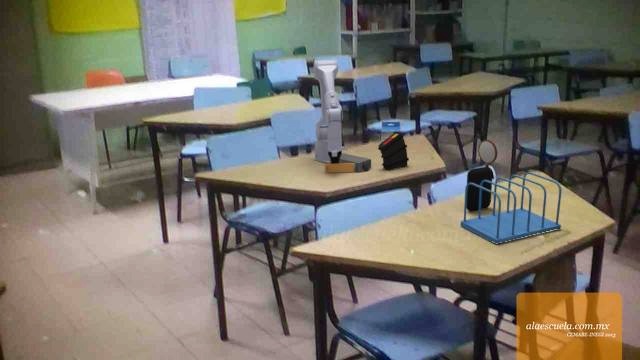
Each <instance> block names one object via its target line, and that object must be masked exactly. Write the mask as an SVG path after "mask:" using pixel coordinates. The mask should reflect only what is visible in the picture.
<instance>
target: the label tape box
mask: <svg viewBox="0 0 640 360" xmlns="http://www.w3.org/2000/svg"><path fill="white" fill-rule="evenodd" d="M397 131H398V132H401V121H381V129H380V138H381V139H380V144H381V143H382V142H383V141H385V140H386V139H387V138H389V137H390V136H391V135H393V134H394V133H395V132H397Z"/></svg>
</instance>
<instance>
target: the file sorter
mask: <svg viewBox="0 0 640 360" xmlns="http://www.w3.org/2000/svg"><path fill="white" fill-rule="evenodd" d="M527 175H532V176H534V177H537V178H540V179H543V180H546V181H549V182H551V183H554V184H555V185H557V187H558V199H557V201H558V202H557V210H556V216H555V217H556V218H555V221H553V220H551V219H549V218H546V216H545V215H546V205H547V190H546V187H545V186H544V185H543V184H542V183H539V182H537V181H535V180H532V179H529V178H526V176H527ZM513 177H514V178H518V179H521V180H522V184H521V183H518V182H516V181H512V178H513ZM499 180H502V181H504V182H507V183H508V187H505V186H503V185H501V184H498V181H499ZM484 182H488V183H490V184H492V186H494V189H493V190H492V191H491V190H488V189H486V188H484V187H482V184H483V183H484ZM526 182H529V183H532V184H535V185H536V186H540V187H541V188H542V190H543V205H542V215H539V214H536V213H535V212H532V211H531V210H532V200H533V195H532V192H531V190H530V189H529V187H527V186H526ZM470 184H471V185H474V186H476V187H478V188H480V193H479V210H478V217H474V218H472V217H471V218H469V219H467V189H468V186H469V185H470ZM511 184H513V185H516V186H518V187H521V198H520V199H521V201H520V208H517V196H516V193H515V192H514V191H513V190H512V189H511V186H512V185H511ZM497 187H498V188H501V189H503V190H506V191H507V201H506V202H507V203H506V210H505V211H502V210H501V209H502V201H501V198H500V195H499V194H498V193H497ZM482 189H483V190H485V191H488V192H490V193H491V195H492V194H493V202H492V203H493V207H492V208H493V209H492V214H486V215H481V213H482V211H481V210H482V209H481V195H482ZM525 190H526V191H527V193H528V195H529V201H528V210H527V209H525V208H523V207H524V196H525ZM464 191H465V192H464V207H463V208H464V209H463V210H464V211H463V220H460V226H461V227H463V228H464V229H466V230H469V231H470V232H472V233H474V234H476V235H477V236H479V235H480V237H481V236H482V237H481V238H483V237H484V238H483V239H485V238H486V240H487V239H488V241H489V240H490V242H491V241H493V242H495V243H500V242H505V241H509V240H513V239H517V238H521V237H525V236H529V235H533V234H537V233H542V232H546V231H550V230H554V229H560V228H562V225H561V224H560V223H559V217H560V208H561V199H562V186H561V184H560V183H559V182H558V181H556V180H554V179H552V178H549V177H545V176H543V175H540V174H537V173H535V172H531V171H528V172H527V171H526V172H525V173H524V174H523V176H521V175H517V174H512V175H510V176H509V178H504V177H500V176H499V177H497V178H496V179H495V181H492V182H491V181H488V180H483V181H482V182H481V184H480V186H479V185H476V184H474V183H468V184H467V183H466V185H465V190H464ZM511 195H512V197H513V208H512V209H511V210H510V200H511V199H510V198H511ZM496 200H498V207H497V208H498V210H497V212H496V204H497V203H496ZM501 211H502V212H501ZM493 242H492V243H493ZM509 242H510V241H509ZM495 243H494V244H495ZM505 243H506V242H505Z"/></svg>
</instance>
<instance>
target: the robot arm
mask: <svg viewBox="0 0 640 360" xmlns="http://www.w3.org/2000/svg"><path fill="white" fill-rule="evenodd" d="M338 72H339V62H338V60H337V59H336V58H335V59H323V60H322V59H321V60H320V59H317V60H316V59H315V60H314V61H313V74H314V75H313V77H314V80H315V81H316V80H317V81H318V83H319V87H320V88H319V89H320V104H321V105H320V109H321V118H320V120H318V121H317V122H316V124H315V137H316V141H315V143H314V158H313V161H317V162H322V163H324V164H331V163H332V164H335V163H339V160H340V157H341V154H342V153H343V151H342V150H345V146H342V145H343V143H342V142H343V141H342V122H343V120H344V119H343V117H344V112H343V109H342V106H341V104H340V98H339V93H338V92H336V91H335V79H336V77H337V74H338ZM330 159H331V162H330Z"/></svg>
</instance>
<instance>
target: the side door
mask: <svg viewBox="0 0 640 360" xmlns="http://www.w3.org/2000/svg"><path fill="white" fill-rule="evenodd" d="M324 173H357V172H356V163H335V164H331V163H324Z"/></svg>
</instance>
